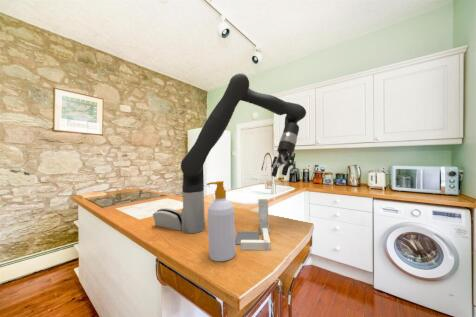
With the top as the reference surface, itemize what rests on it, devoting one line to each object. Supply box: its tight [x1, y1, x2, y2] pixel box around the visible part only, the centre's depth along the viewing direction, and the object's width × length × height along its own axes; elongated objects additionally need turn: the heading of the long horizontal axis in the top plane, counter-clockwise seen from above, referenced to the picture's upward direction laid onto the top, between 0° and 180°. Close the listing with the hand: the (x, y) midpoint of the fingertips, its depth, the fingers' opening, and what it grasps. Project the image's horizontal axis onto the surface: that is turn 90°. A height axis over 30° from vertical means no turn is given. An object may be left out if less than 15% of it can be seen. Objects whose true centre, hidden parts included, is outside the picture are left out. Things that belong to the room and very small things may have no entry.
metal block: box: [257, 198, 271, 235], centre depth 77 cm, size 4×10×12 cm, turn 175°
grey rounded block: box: [152, 207, 182, 232], centre depth 83 cm, size 17×5×10 cm, turn 63°
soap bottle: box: [206, 180, 237, 262], centre depth 57 cm, size 9×9×24 cm
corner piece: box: [240, 228, 272, 251], centre depth 66 cm, size 10×12×2 cm
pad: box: [235, 231, 260, 246], centre depth 69 cm, size 9×11×1 cm
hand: (278, 175), depth 80 cm, fingers open, 8 cm apart
